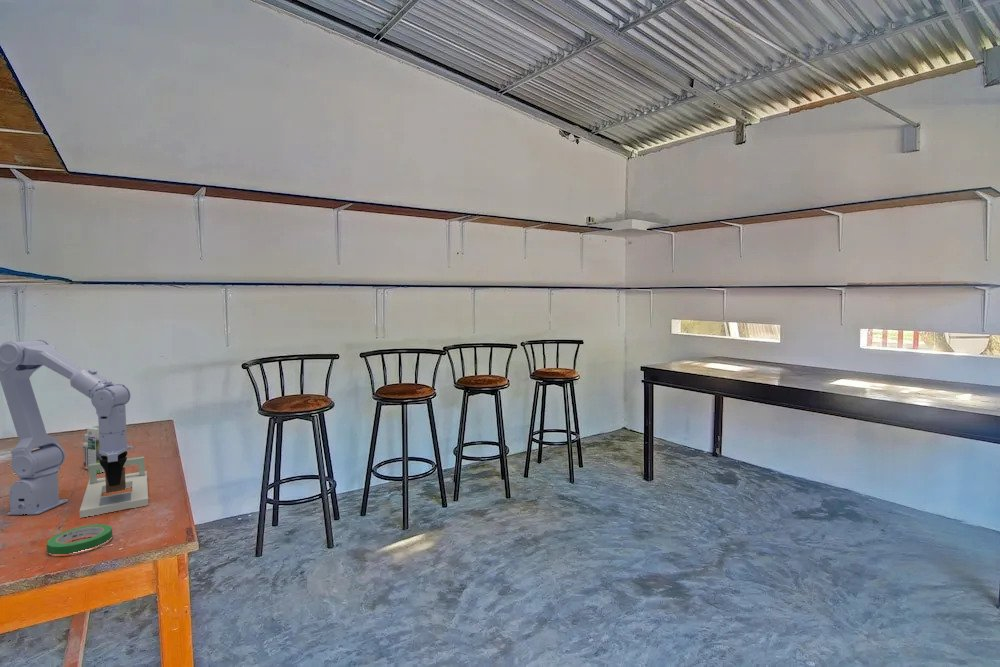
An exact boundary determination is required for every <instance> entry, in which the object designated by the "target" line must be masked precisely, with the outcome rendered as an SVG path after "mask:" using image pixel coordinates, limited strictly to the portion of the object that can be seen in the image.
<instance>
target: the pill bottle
mask: <svg viewBox="0 0 1000 667" xmlns="http://www.w3.org/2000/svg"><path fill="white" fill-rule="evenodd" d="M84 440H85V442H84V443H83V444H82V457H83V458H82V459H83V469H85V470H88V439H87V433H85V434H84Z"/></svg>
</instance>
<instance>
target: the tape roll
mask: <svg viewBox="0 0 1000 667" xmlns="http://www.w3.org/2000/svg"><path fill="white" fill-rule="evenodd" d="M86 535H96V536H94V537H91V538H84V539H80V540H76V541H73V542H70V543H64V542H66V541H68V540H71V539H74V538H77V537H81V536H86ZM111 537H113V528H112V526H111V525H109V524H103V523H101V524H98V523H97V524H90V525H83V526H78V527H74V528H71V529H69V530H68V529H67V530H65V531H61V532H60V533H57V534H56V535H53V536H52V537H50V538H49V539H48V540H47V541H46V553H47V552H48V553H51V554H69V553H73V552H78V551H81V550H85V549H89V548H92V547H95V546H98V545H100V544H102V543H104V542H106V541H107V540H109V539H110V538H111Z"/></svg>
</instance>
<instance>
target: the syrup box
mask: <svg viewBox="0 0 1000 667" xmlns="http://www.w3.org/2000/svg"><path fill="white" fill-rule="evenodd" d="M86 428H87V430H86V431H87V432H86V434H87V439H88V469H87V471H89V464H94V463H100V462H99V461H100V460H102V458H101V456H102V455H101V454H99V450H100V445H99V425H95V426H90V427H86ZM96 471H97V474H98V473H99V474H103V473H105V471H104V469H101V470H96ZM102 472H103V473H102Z"/></svg>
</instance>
